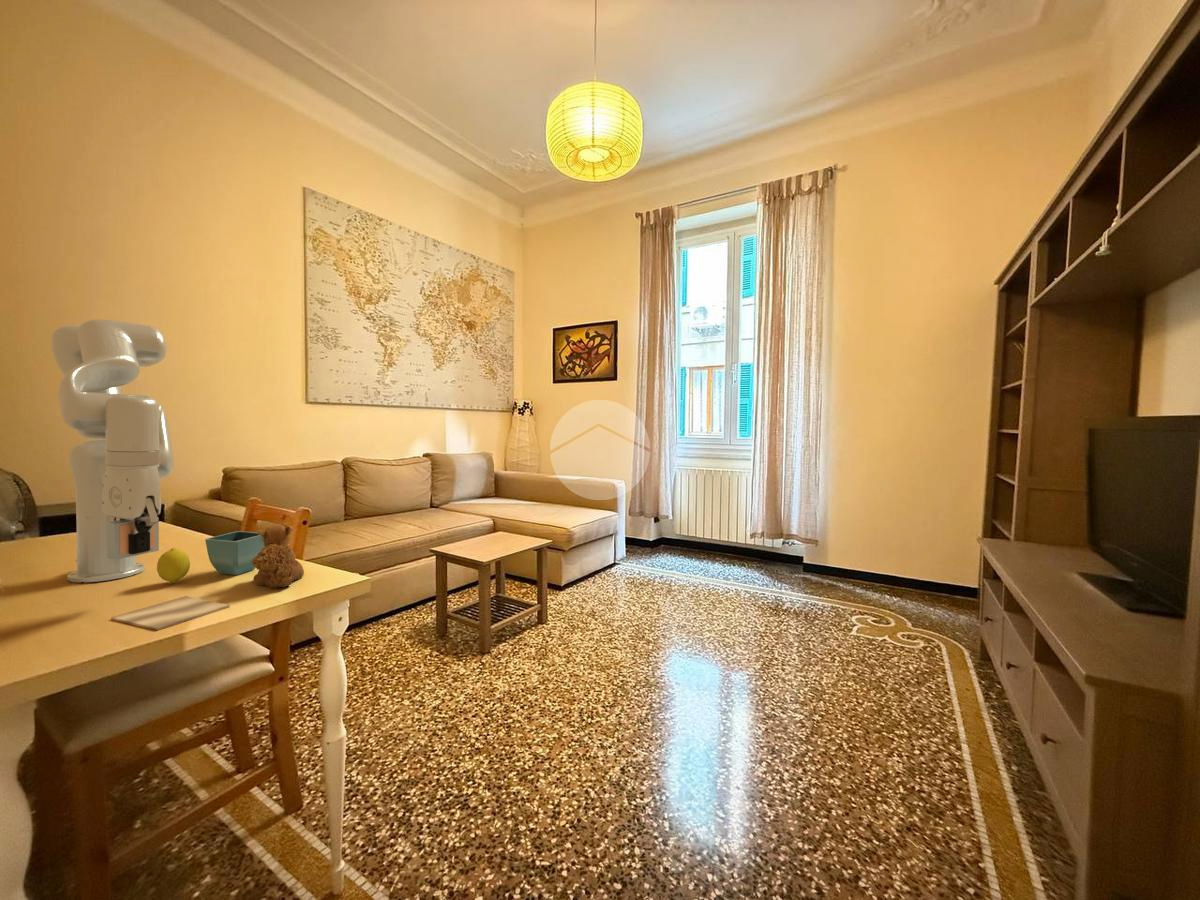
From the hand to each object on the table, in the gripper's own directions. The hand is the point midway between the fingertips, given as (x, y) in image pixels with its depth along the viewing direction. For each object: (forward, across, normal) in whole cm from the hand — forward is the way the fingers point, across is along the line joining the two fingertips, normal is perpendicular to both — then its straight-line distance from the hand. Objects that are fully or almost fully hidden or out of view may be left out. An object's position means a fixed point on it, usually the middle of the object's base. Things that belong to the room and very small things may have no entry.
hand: (133, 550), depth 95 cm
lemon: (+11, -6, +10) cm, 17 cm away
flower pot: (+11, -2, +22) cm, 24 cm away
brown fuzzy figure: (+11, +14, +19) cm, 26 cm away
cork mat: (+10, +13, 0) cm, 16 cm away
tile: (+1, 0, 0) cm, 1 cm away
